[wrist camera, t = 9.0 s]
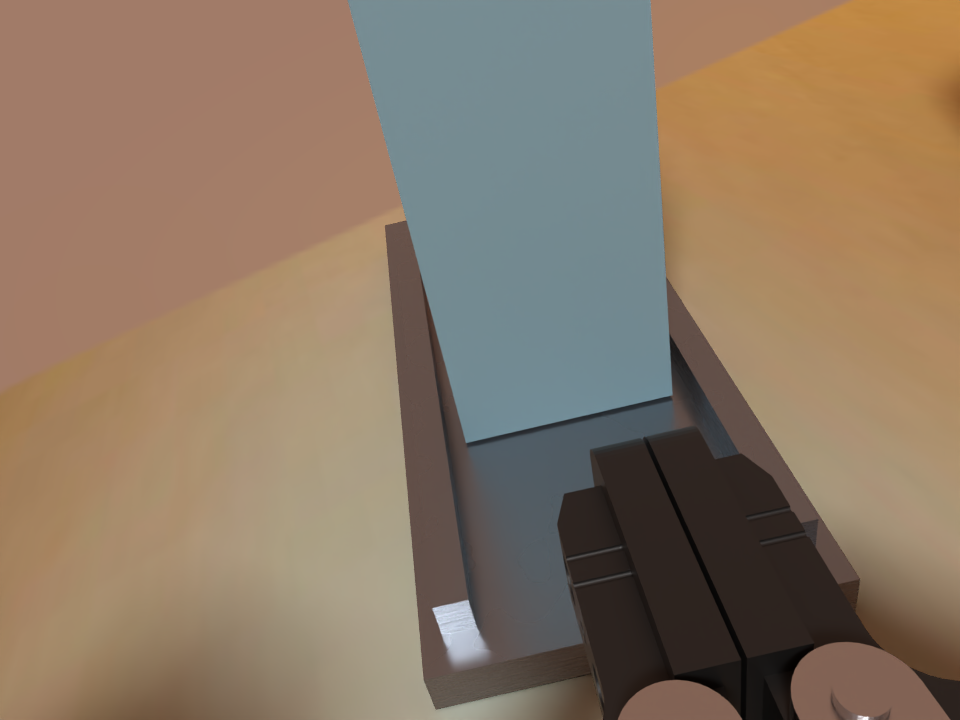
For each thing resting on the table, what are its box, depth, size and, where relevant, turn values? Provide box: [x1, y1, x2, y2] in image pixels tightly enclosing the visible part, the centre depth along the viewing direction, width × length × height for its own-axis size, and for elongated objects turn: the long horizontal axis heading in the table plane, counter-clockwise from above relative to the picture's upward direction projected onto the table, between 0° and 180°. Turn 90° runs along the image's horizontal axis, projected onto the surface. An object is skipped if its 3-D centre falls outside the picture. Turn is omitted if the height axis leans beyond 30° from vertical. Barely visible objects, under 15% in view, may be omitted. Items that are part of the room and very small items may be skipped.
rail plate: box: [385, 221, 860, 709], centre depth 25 cm, size 22×10×6 cm, turn 8°
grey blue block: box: [348, 0, 673, 443], centre depth 24 cm, size 12×6×13 cm, turn 8°
